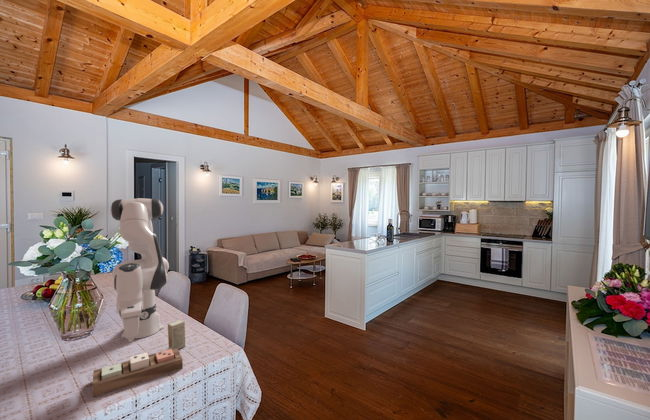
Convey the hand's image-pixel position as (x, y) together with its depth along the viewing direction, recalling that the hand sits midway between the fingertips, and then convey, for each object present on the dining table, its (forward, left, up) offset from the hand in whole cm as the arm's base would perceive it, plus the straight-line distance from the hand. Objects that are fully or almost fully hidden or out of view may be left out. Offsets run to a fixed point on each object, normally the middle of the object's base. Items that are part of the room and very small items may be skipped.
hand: (130, 339), depth 114 cm
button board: (0, +3, -15) cm, 15 cm away
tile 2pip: (0, +3, -13) cm, 13 cm away
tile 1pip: (0, -6, -14) cm, 16 cm away
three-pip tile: (0, +12, -14) cm, 19 cm away
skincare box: (-14, +19, -15) cm, 28 cm away
